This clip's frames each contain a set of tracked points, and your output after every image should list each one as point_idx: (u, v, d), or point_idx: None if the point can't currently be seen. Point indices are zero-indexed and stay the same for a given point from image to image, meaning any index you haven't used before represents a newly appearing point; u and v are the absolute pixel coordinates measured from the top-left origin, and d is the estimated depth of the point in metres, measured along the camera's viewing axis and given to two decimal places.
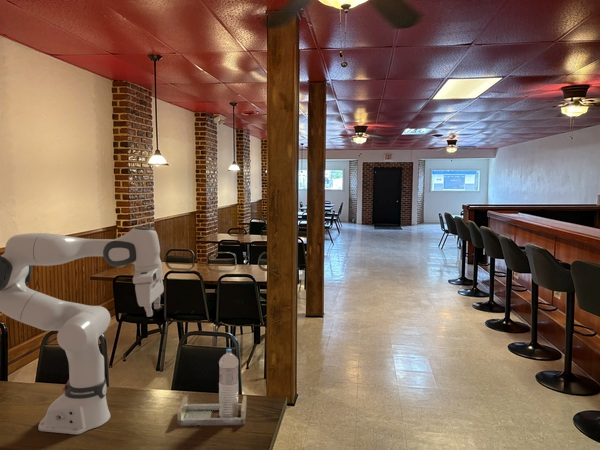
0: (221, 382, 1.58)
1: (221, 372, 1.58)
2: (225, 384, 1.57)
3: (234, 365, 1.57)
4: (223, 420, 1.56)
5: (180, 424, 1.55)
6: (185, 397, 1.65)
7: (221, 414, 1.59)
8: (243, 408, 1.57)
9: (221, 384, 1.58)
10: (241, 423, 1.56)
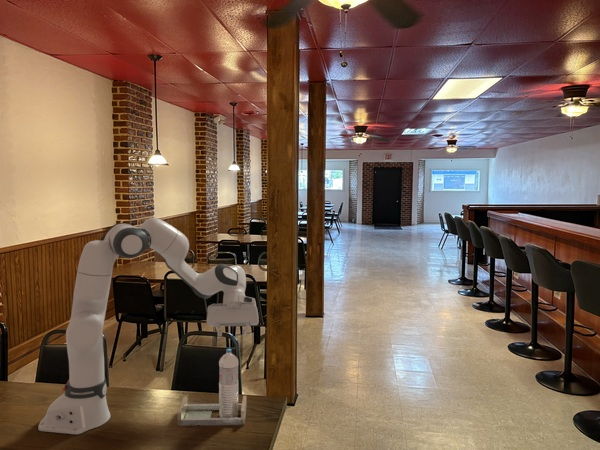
0: (221, 382, 1.58)
1: (221, 372, 1.58)
2: (225, 384, 1.57)
3: (234, 365, 1.57)
4: (223, 420, 1.56)
5: (180, 424, 1.55)
6: (185, 397, 1.65)
7: (221, 414, 1.59)
8: (243, 408, 1.57)
9: (221, 384, 1.58)
10: (241, 423, 1.56)
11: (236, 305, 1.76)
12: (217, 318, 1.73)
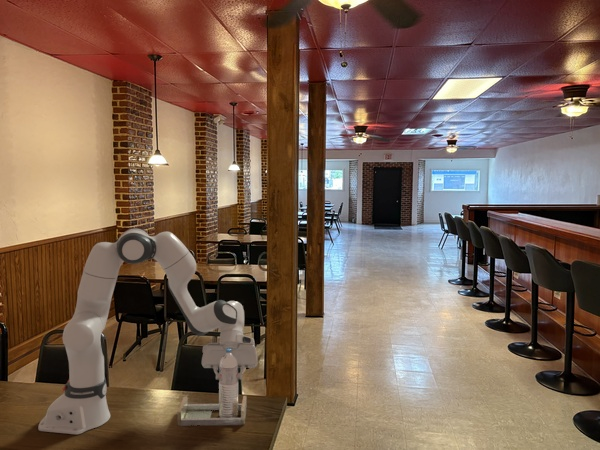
0: (221, 382, 1.58)
1: (221, 372, 1.58)
2: (225, 384, 1.57)
3: (234, 365, 1.57)
4: (223, 420, 1.56)
5: (180, 424, 1.55)
6: (185, 397, 1.65)
7: (221, 414, 1.59)
8: (243, 408, 1.57)
9: (221, 384, 1.58)
10: (241, 423, 1.56)
11: (234, 345, 1.65)
12: (213, 360, 1.62)
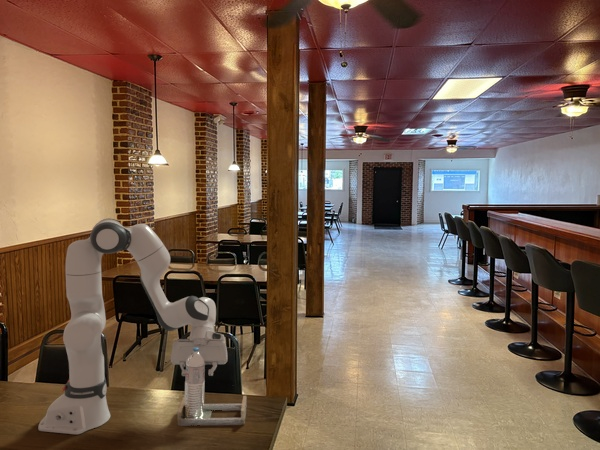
0: (187, 381, 1.57)
1: (188, 371, 1.57)
2: (191, 383, 1.57)
3: (201, 364, 1.57)
4: (223, 420, 1.56)
5: (180, 424, 1.55)
6: None
7: (186, 413, 1.58)
8: (243, 408, 1.57)
9: (187, 383, 1.57)
10: (241, 423, 1.56)
11: (203, 342, 1.64)
12: (182, 356, 1.61)
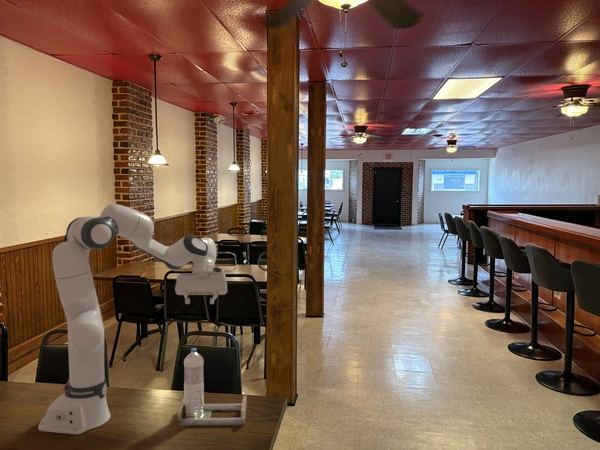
0: (186, 382, 1.57)
1: (186, 372, 1.57)
2: (190, 383, 1.57)
3: (199, 364, 1.57)
4: (223, 420, 1.56)
5: (180, 424, 1.55)
6: None
7: (186, 414, 1.58)
8: (243, 408, 1.57)
9: (186, 384, 1.57)
10: (241, 423, 1.56)
11: (205, 274, 1.79)
12: (186, 287, 1.76)
